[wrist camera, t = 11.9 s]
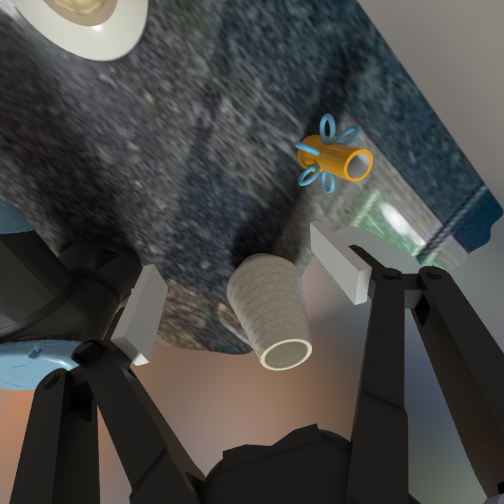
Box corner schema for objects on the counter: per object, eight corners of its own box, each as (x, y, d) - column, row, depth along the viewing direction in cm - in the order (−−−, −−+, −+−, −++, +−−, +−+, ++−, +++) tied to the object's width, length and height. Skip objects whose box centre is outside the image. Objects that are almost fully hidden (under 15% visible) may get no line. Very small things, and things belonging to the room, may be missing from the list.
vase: (276, 299, 59) (307, 383, 40) (217, 291, 54) (221, 384, 35) (302, 249, 51) (357, 325, 32) (236, 233, 46) (255, 313, 27)
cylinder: (280, 123, 36) (318, 123, 23) (337, 107, 36) (404, 99, 24) (289, 190, 43) (321, 218, 30) (336, 176, 43) (388, 199, 30)
